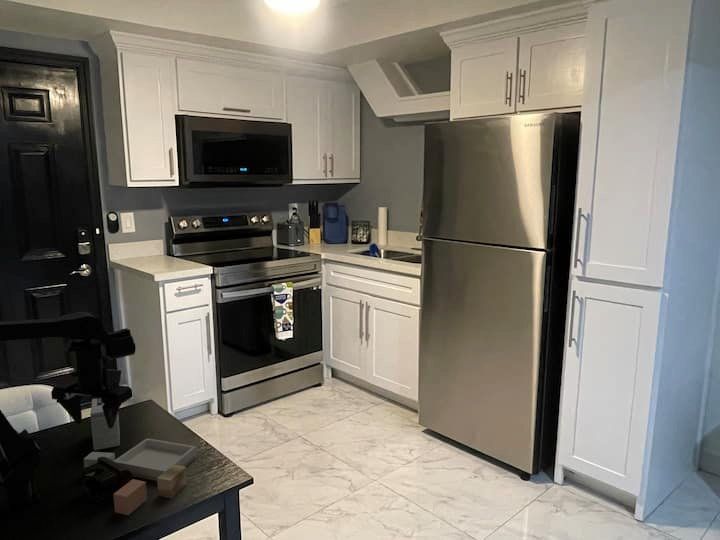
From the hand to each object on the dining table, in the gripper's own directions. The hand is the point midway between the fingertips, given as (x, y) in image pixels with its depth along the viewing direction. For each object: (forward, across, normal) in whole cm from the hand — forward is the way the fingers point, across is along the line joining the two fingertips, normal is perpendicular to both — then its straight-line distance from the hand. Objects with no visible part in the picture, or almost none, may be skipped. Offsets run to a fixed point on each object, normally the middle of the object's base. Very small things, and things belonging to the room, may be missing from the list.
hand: (95, 425), depth 128 cm
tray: (+13, -11, -7) cm, 18 cm away
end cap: (+13, -7, +6) cm, 16 cm away
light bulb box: (+13, +10, -15) cm, 22 cm away
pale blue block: (+13, 0, 0) cm, 13 cm away
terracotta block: (+13, -16, +10) cm, 23 cm away
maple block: (+13, -22, +2) cm, 25 cm away
